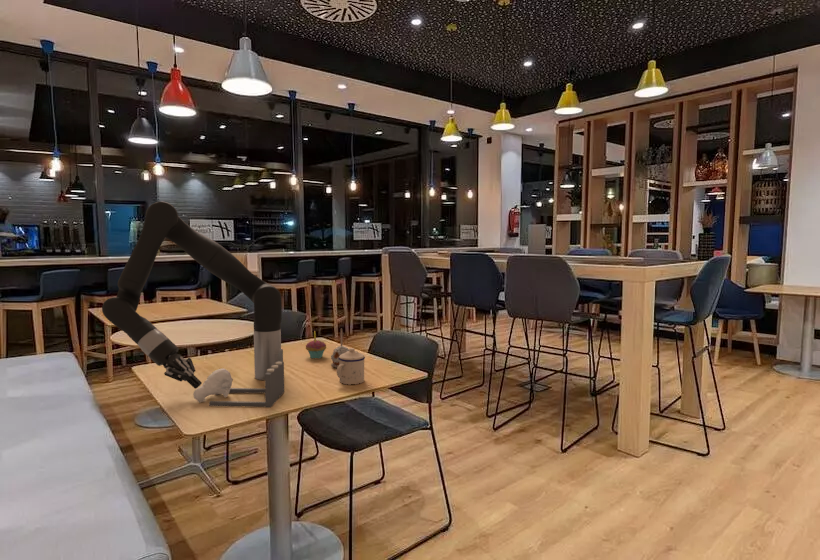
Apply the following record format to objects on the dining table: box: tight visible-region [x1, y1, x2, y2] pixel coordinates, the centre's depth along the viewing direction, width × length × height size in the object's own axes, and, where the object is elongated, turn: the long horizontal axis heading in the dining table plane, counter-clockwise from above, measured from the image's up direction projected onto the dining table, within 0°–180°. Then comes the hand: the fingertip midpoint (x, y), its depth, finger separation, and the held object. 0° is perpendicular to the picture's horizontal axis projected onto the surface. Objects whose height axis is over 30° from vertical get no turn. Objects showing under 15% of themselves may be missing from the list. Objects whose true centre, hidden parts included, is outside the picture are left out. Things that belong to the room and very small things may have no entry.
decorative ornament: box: [330, 328, 350, 368], centre depth 180 cm, size 8×8×15 cm
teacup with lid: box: [336, 347, 366, 386], centre depth 160 cm, size 12×9×12 cm
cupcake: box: [305, 330, 327, 359], centre depth 193 cm, size 9×8×12 cm
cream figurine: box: [192, 367, 234, 404], centre depth 143 cm, size 6×8×12 cm
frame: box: [208, 361, 285, 409], centre depth 143 cm, size 19×14×11 cm
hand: (198, 386), depth 143 cm, fingers closed
